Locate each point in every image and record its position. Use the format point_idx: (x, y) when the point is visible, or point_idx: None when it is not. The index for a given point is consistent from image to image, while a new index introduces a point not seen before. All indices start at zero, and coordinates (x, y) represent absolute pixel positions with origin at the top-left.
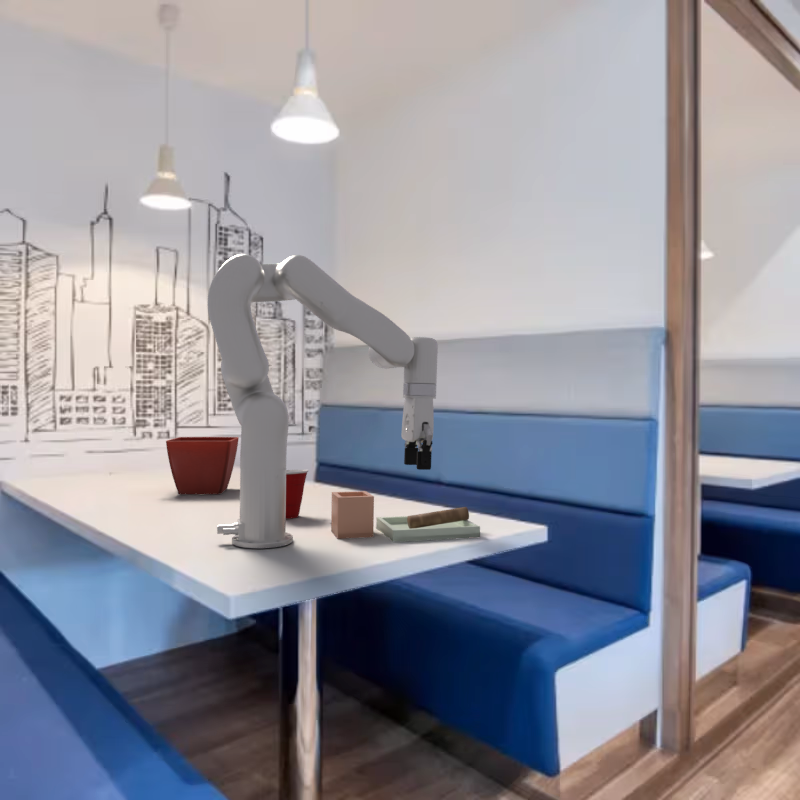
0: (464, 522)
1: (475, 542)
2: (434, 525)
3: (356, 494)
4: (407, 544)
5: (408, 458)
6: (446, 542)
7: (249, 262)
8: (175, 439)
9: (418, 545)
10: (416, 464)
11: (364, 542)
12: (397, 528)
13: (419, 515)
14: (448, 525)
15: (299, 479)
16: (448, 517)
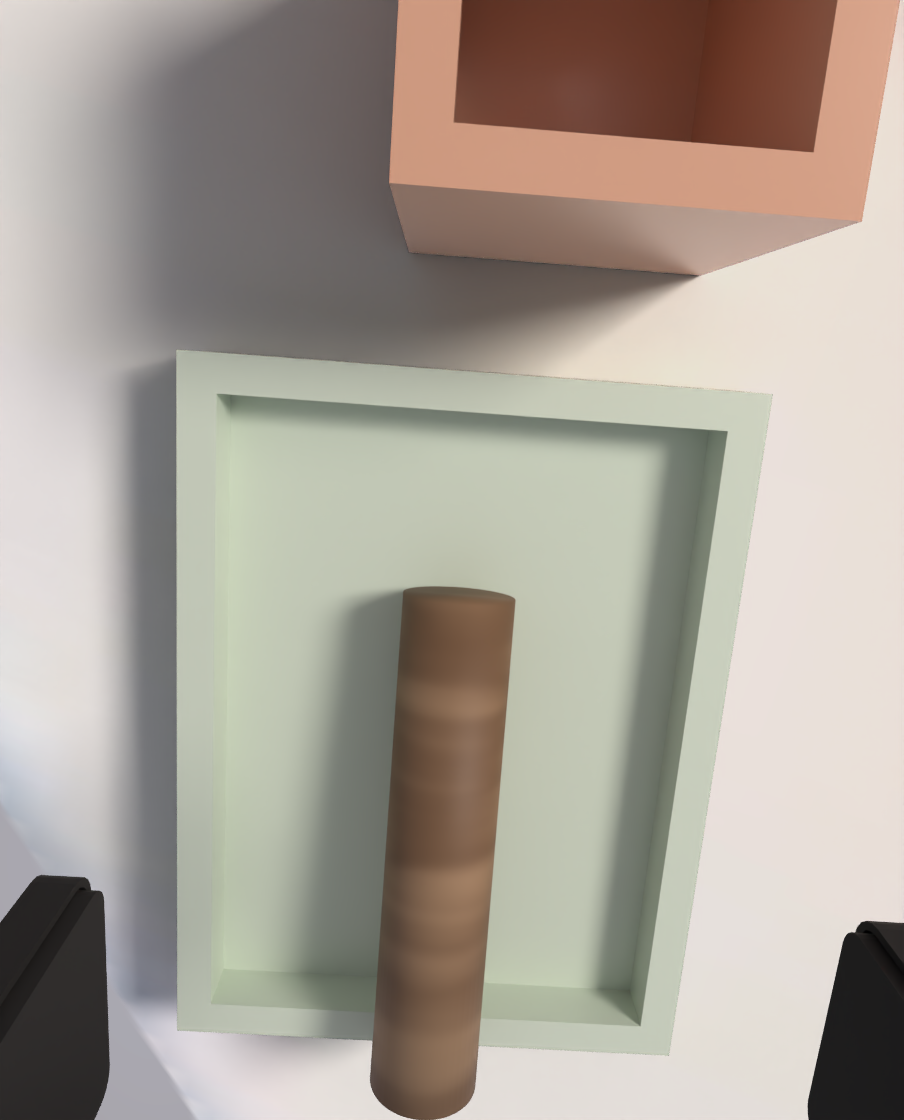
0: None
1: None
2: (529, 809)
3: (813, 69)
4: (109, 432)
5: (898, 1064)
6: (115, 718)
7: None
8: None
9: (62, 499)
10: (818, 1104)
11: (247, 118)
12: (507, 499)
13: (429, 695)
14: (499, 902)
15: None
16: (383, 911)
